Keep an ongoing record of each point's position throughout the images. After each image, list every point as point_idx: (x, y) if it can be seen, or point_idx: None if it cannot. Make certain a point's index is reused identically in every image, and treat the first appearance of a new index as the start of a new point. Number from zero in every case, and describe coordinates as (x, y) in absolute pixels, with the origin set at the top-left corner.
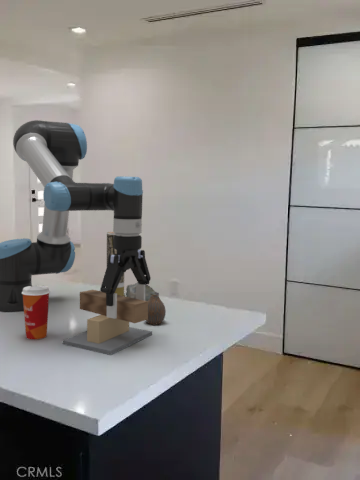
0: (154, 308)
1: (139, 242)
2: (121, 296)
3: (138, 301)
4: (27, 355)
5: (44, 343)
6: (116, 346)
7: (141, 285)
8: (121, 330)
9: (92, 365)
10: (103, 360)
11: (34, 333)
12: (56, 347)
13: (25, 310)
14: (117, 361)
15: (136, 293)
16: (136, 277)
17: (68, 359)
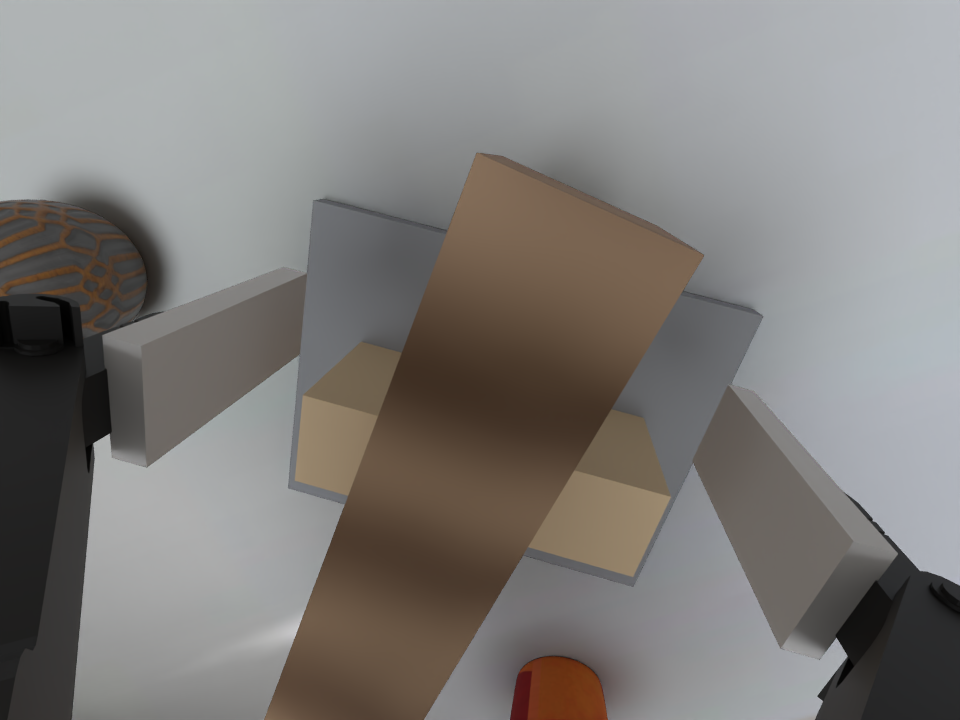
0: (56, 269)
1: None
2: (372, 506)
3: (523, 272)
4: None
5: (640, 635)
6: (671, 311)
7: (150, 382)
8: None
9: (951, 341)
10: (858, 313)
11: (604, 708)
12: (684, 579)
13: None
14: (870, 229)
15: (227, 400)
16: (84, 523)
17: (857, 481)
